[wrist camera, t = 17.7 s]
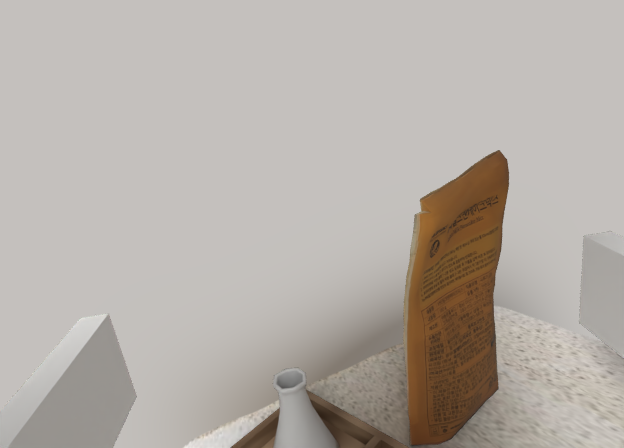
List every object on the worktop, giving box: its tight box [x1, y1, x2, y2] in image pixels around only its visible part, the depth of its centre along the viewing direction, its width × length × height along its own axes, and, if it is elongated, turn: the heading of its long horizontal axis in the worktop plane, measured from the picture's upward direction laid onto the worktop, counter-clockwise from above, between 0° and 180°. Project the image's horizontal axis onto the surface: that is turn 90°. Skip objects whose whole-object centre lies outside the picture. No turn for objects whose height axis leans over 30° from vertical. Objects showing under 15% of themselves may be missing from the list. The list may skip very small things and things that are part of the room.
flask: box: [273, 367, 339, 448], centre depth 42 cm, size 7×7×10 cm
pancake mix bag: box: [403, 150, 509, 445], centre depth 45 cm, size 7×19×28 cm, turn 131°
